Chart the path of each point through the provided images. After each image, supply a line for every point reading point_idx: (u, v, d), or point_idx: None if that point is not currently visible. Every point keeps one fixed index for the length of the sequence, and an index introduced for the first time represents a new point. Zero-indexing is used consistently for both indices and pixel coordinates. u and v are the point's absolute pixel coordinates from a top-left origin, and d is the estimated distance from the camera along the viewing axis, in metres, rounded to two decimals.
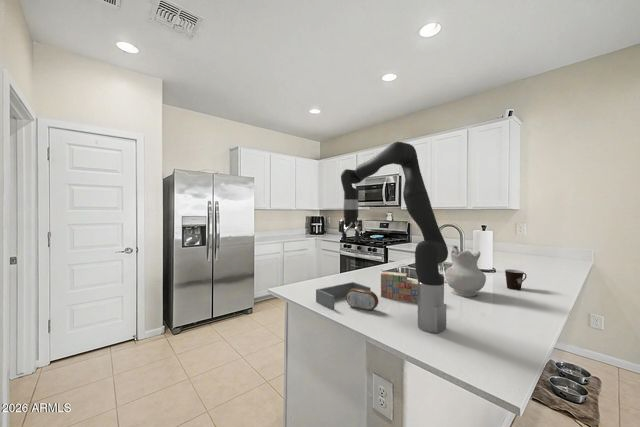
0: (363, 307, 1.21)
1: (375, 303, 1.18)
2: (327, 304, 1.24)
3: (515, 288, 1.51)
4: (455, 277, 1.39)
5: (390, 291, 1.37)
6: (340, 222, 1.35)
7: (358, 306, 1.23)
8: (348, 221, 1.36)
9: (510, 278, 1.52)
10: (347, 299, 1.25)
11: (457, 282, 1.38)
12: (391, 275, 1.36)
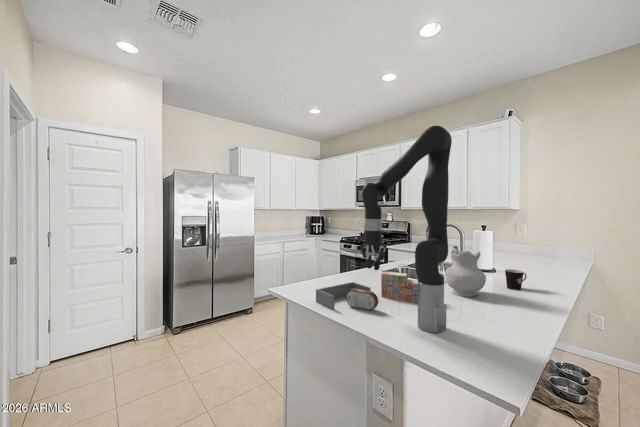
0: (363, 307, 1.21)
1: (375, 303, 1.18)
2: (327, 304, 1.24)
3: (515, 288, 1.51)
4: (455, 277, 1.39)
5: (391, 291, 1.36)
6: (384, 250, 1.12)
7: (358, 306, 1.23)
8: None
9: (510, 278, 1.52)
10: (347, 299, 1.25)
11: (457, 282, 1.38)
12: (392, 275, 1.36)
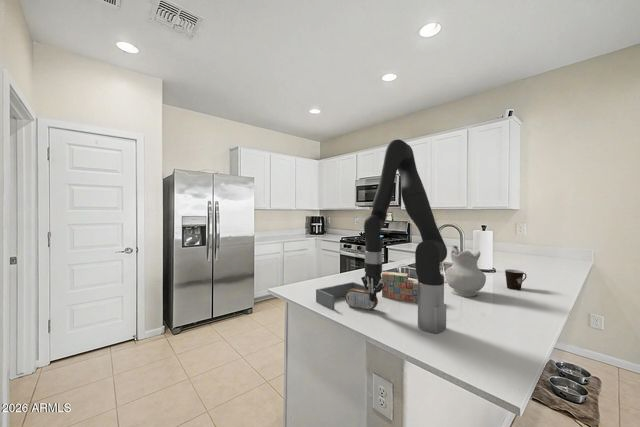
0: (362, 307, 1.22)
1: (375, 303, 1.19)
2: (327, 304, 1.24)
3: (515, 288, 1.51)
4: (455, 277, 1.39)
5: (391, 291, 1.36)
6: (382, 286, 1.13)
7: (357, 306, 1.23)
8: None
9: (510, 278, 1.52)
10: (346, 299, 1.25)
11: (457, 282, 1.38)
12: (392, 275, 1.36)
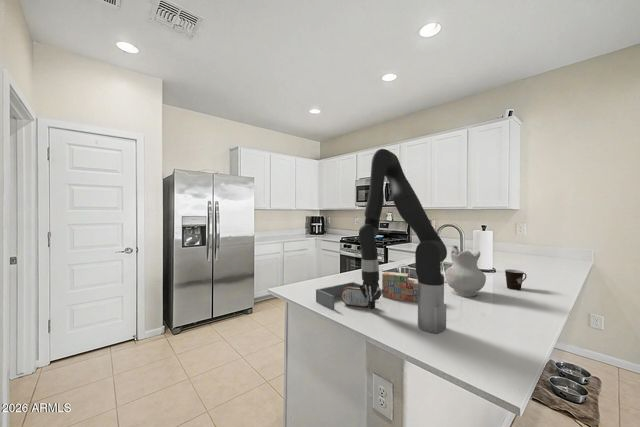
0: (359, 304, 1.24)
1: None
2: (327, 304, 1.24)
3: (515, 288, 1.51)
4: (455, 277, 1.39)
5: (392, 291, 1.36)
6: (380, 293, 1.14)
7: (353, 304, 1.25)
8: None
9: (510, 278, 1.52)
10: (342, 297, 1.27)
11: (457, 282, 1.38)
12: (393, 275, 1.36)
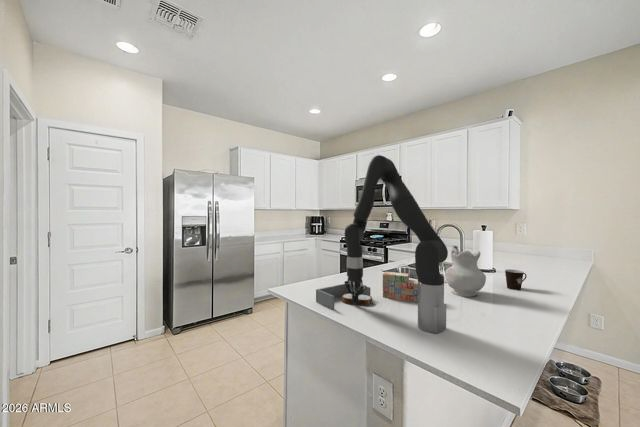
0: (358, 299, 1.28)
1: (371, 298, 1.29)
2: (327, 304, 1.24)
3: (515, 288, 1.51)
4: (455, 277, 1.39)
5: (392, 291, 1.36)
6: (363, 289, 1.21)
7: None
8: None
9: (510, 278, 1.52)
10: (343, 296, 1.32)
11: (457, 282, 1.38)
12: (393, 275, 1.36)
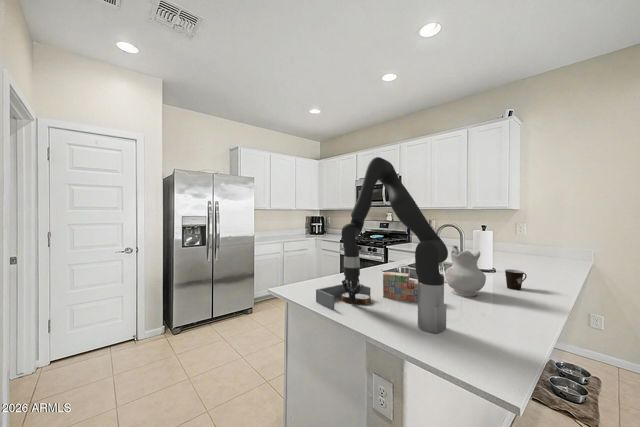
0: (356, 298, 1.29)
1: (369, 298, 1.30)
2: (327, 304, 1.24)
3: (515, 288, 1.51)
4: (455, 277, 1.39)
5: (393, 291, 1.36)
6: (360, 288, 1.23)
7: None
8: None
9: (510, 278, 1.52)
10: (342, 295, 1.34)
11: (457, 282, 1.38)
12: (393, 275, 1.36)
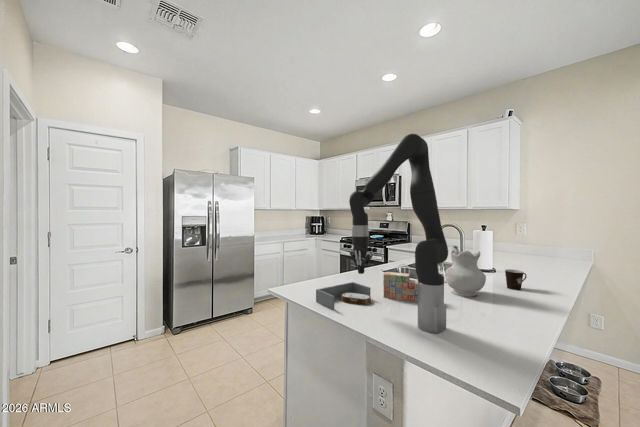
0: (356, 298, 1.29)
1: (369, 298, 1.30)
2: (327, 304, 1.24)
3: (515, 288, 1.51)
4: (455, 277, 1.39)
5: (393, 292, 1.36)
6: (369, 257, 1.18)
7: (352, 297, 1.30)
8: None
9: (510, 278, 1.52)
10: (342, 294, 1.34)
11: (457, 282, 1.38)
12: (394, 275, 1.36)
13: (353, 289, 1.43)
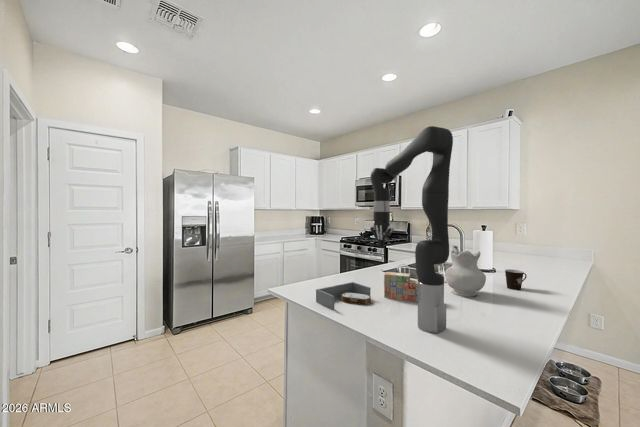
0: (356, 298, 1.29)
1: (369, 298, 1.30)
2: (327, 304, 1.24)
3: (515, 288, 1.51)
4: (455, 277, 1.39)
5: (394, 292, 1.36)
6: (390, 231, 1.22)
7: (352, 297, 1.30)
8: None
9: (510, 278, 1.52)
10: (342, 294, 1.34)
11: (457, 282, 1.38)
12: (395, 275, 1.35)
13: (353, 289, 1.43)
